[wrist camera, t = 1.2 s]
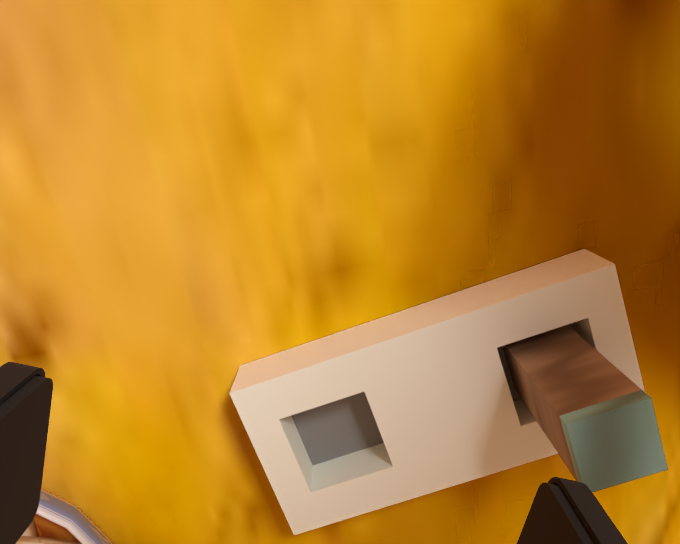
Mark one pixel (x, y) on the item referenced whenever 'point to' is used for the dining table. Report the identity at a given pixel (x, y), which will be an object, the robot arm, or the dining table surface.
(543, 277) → the socket panel
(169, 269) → the dining table surface
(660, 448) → the plug peg
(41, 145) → the dining table surface
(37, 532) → the ramen bowl
